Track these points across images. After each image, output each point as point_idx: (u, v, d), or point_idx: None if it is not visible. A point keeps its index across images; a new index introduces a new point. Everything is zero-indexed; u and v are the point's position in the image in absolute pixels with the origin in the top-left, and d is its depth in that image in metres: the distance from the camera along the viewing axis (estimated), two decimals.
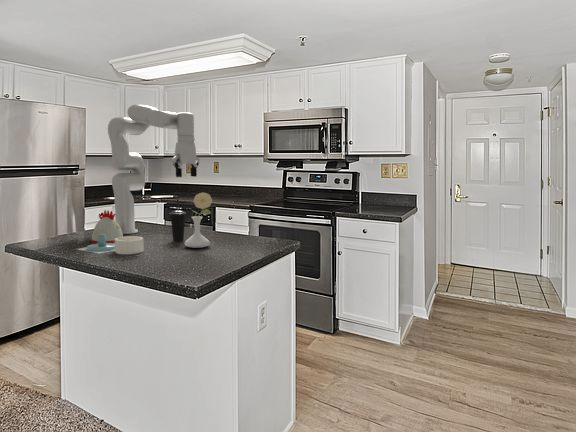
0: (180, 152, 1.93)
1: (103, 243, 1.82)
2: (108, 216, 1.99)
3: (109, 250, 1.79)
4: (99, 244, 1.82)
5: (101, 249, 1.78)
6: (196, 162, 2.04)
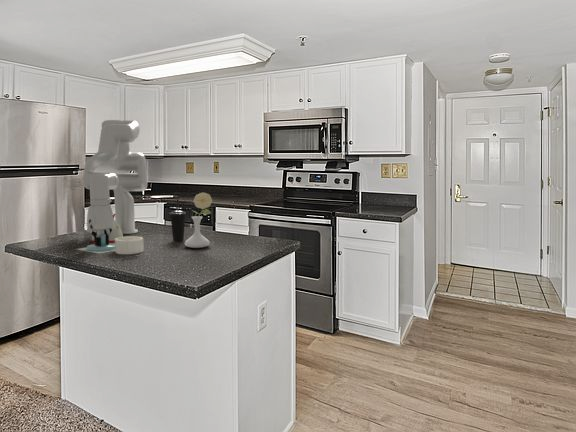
0: (92, 218, 1.77)
1: (103, 243, 1.82)
2: None
3: (109, 250, 1.79)
4: None
5: (101, 249, 1.78)
6: (110, 228, 1.86)
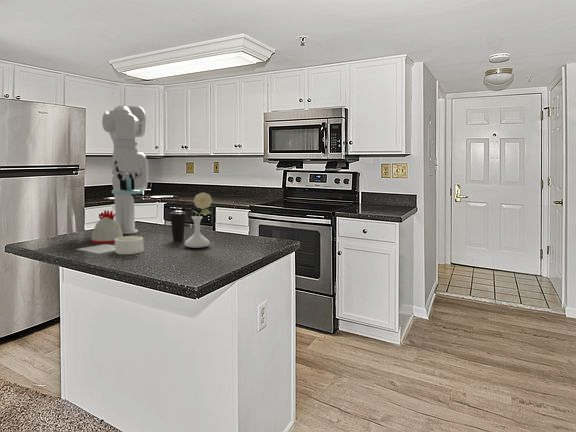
0: (118, 159, 1.69)
1: (129, 187, 1.74)
2: (108, 216, 1.99)
3: (109, 250, 1.79)
4: None
5: (127, 192, 1.70)
6: (135, 173, 1.78)
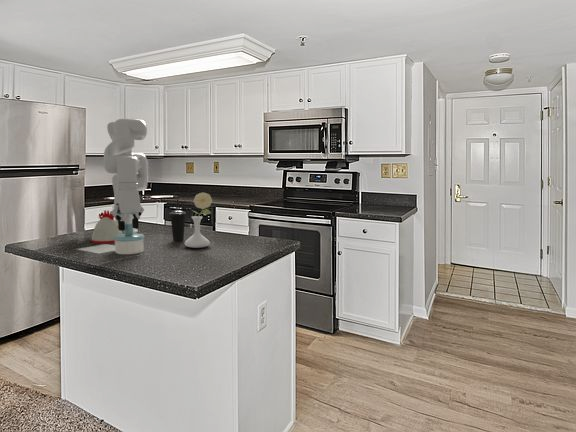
0: (119, 201, 1.71)
1: (130, 233, 1.77)
2: (108, 216, 1.99)
3: (109, 250, 1.79)
4: (126, 234, 1.76)
5: (129, 239, 1.73)
6: (139, 212, 1.81)
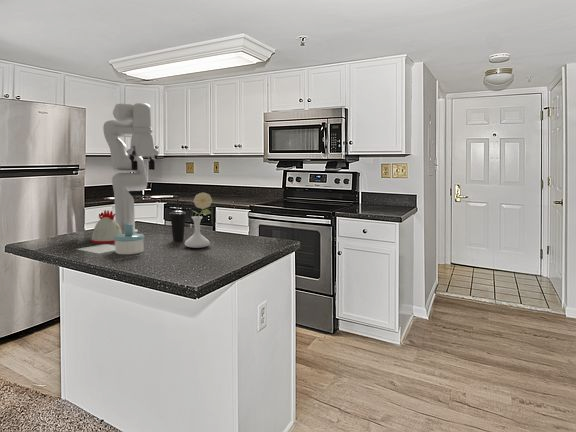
0: (135, 144, 1.88)
1: (130, 233, 1.77)
2: (108, 216, 1.99)
3: (109, 250, 1.79)
4: (126, 234, 1.76)
5: (129, 239, 1.73)
6: (154, 155, 1.99)
